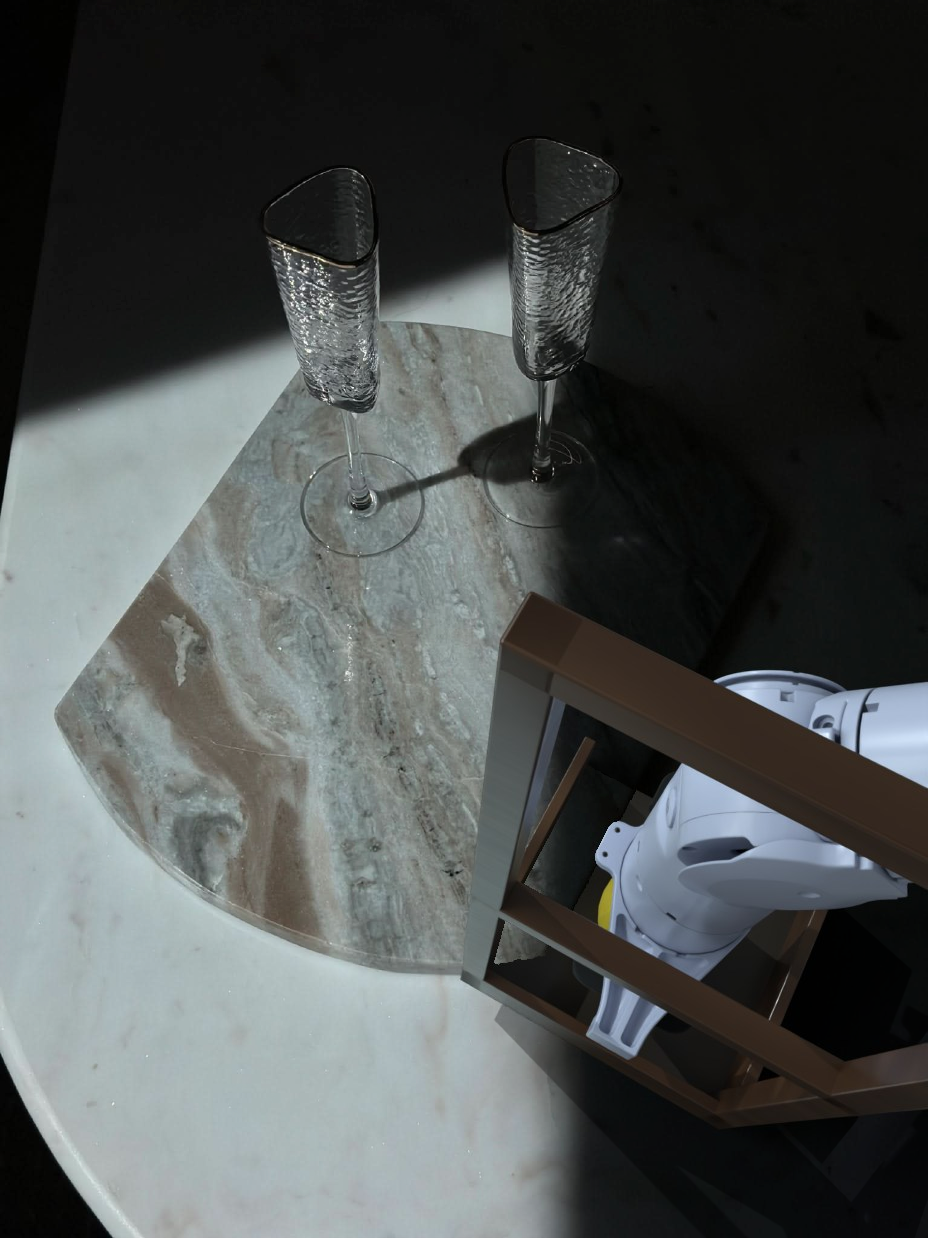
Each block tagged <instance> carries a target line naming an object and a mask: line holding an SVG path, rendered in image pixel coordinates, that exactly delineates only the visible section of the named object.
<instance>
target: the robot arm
mask: <svg viewBox="0 0 928 1238" xmlns="http://www.w3.org/2000/svg"><path fill="white" fill-rule="evenodd" d="M713 681H714V682H716V683H718V684H720V685H722V686H724V687H726V688H728V689H730V690H732V691H734V692H736V693H738V694H740V695H742V696H744V697H746V698H748V699H750V700H752V701H754V702H756V703H758V704H760V705H762V706H764V707H766V708H768V709H770V710H772V711H774V712H776V713H778V714H780V715H782V716H784V717H786V718H788V719H790V720H792V721H794V722H796V723H798V724H800V725H802V726H804V727H806V728H808V729H810V730H812V731H814V732H816V733H818V734H820V735H822V736H824V737H826V738H828V739H830V740H832V741H834V742H836V743H838V744H840V745H842V746H844V747H846V748H848V749H850V750H852V751H854V752H856V753H858V754H860V755H862V756H864V757H866V758H868V759H870V760H872V761H874V762H876V763H878V764H880V765H882V766H884V767H886V768H888V769H890V770H892V771H894V772H896V773H898V774H900V775H902V776H904V777H906V778H908V779H910V780H912V781H914V782H916V783H918V784H920V785H922V786H924V787H926V788H928V681H924V682H914V683H906V684H898V685H889V686H888V685H887V686H880V687H870V688H864V689H853V690H847V689H846V688H844V687H843V686H841V685H839V684H838V683H837V682H835V681H832V680H829V679H827V678H824V677H821V676H817V675H814V674H809V673H804V672H794V671H792V670H776V669H775V670H774V669H765V670H764V669H763V670H760V669H759V670H749V671H741V672H736V673H732V674H728V675H725V676H721V677H719V678H717V679H715V680H713ZM652 798H653V800H652V802H651V804H650V806H649V812H650V815H649V816H648V818H647V819H646V821H645V823H644V824H643V825H641V826H640V827H633V826H630V825H628V824H626V823H624V822H620V821H617V822H613V823H612V824H611V825H610V826H609V827H608V829H607V831H606V833H605V835H604V837H603V839H602V841H601V843H600V845H599V847H598V849H597V850H596V853H595V861H596V864H597V865H598V866H599V867H601V868H602V869H604V870H606V871H607V872H609V873H610V874H611V876H612V878H613V893H612V903H611V912H610V922H609V931H610V932H612V933H613V934H615V935H617V936H619V937H621V938H622V939H624V940H626V941H628V942H630V943H632V944H633V945H635V946H637V947H639V948H641V949H642V950H644V951H646V952H648V953H650V954H651V955H653V956H655V957H657V958H659V959H660V960H662V961H664V962H666V963H668V964H669V965H671V966H673V967H675V968H677V969H678V970H680V971H682V972H684V973H686V974H687V975H689V976H691V977H693V978H695V979H697V980H698V981H700V980H701V979H702V978H703V977H704V976H705V975H706V974H707V973H709V972H710V971H711V970H712V969H713V968H714V967H715V966H716V965H717V964H718V963H719V962H720V961H721V960H722V959H723V958H724V957H725V956H726V955H727V954H728V953H729V952H730V951H731V950H732V949H733V948H734V947H735V946H736V945H737V944H738V943H739V942H740V941H741V940H742V939H743V938H744V937H745V936H746V934H747V933H748V932H749V931H750V929H751V927H753V926H754V925H756V924H757V923H758V922H759V921H761V920H762V919H763V918H765V917H766V916H768V915H769V914H770V913H772V912H773V911H774V910H824V909H828V910H837V909H844V908H850V907H855V906H860V905H862V904H866V903H868V902H872V901H873V902H874V901H880V900H881V901H882V900H884V901H885V900H898V898H906V897H908V884H914V883H913V882H911V881H909V880H907V879H906V878H904V877H902V876H900V875H898V874H896V873H894V872H892V871H890V870H888V869H886V868H884V867H882V866H880V865H878V864H876V863H875V862H873V861H871V860H869V859H867V858H865V857H863V856H861V855H859V854H857V853H855V852H853V851H851V850H849V849H847V848H845V847H844V846H842V845H840V844H838V843H836V842H834V841H832V840H830V839H828V838H826V837H824V836H822V835H820V834H818V833H816V832H814V831H813V830H811V829H809V828H807V827H805V826H803V825H801V824H799V823H797V822H795V821H793V820H791V819H789V818H787V817H785V816H783V815H782V814H780V813H778V812H776V811H774V810H772V809H770V808H768V807H766V806H764V805H762V804H760V803H758V802H756V801H754V800H752V799H751V798H749V797H747V796H745V795H743V794H741V793H739V792H737V791H735V790H733V789H731V788H729V787H727V786H725V785H723V784H721V783H720V782H718V781H716V780H714V779H712V778H710V777H708V776H706V775H704V774H702V773H700V772H698V771H696V770H694V769H692V768H690V767H689V766H687V765H685V764H683V763H680V765H679V767H678V769H676V770H675V771H672V772H670V773H669V772H668V774H667V775H666V776H664V777H663V779H662V780H661V782H660V784H659V785H658V788H657V789H656V791H655V793H654V795H653V797H652ZM615 831H617V832H618V833H616V832H615ZM603 855H605V856H606V857H604V856H603ZM573 974H574V976H575V977H576V978H577V980H578V981H579V982H580V983H581V984H583V985H584V986H586V987H588V988H589V989H591V990H593V991H595V992H596V993H598V994H600V995H601V1001H600V1005H599V1009H598V1012H597V1015H596V1016H595V1017H594V1019H593V1021H592V1023H591V1025H590V1027H589V1029H588V1031H587V1033H586V1036H587V1037H589V1038H590V1039H592V1040H594V1041H596V1042H597V1043H599V1044H601V1045H602V1046H604V1047H606V1048H607V1049H609V1050H611V1051H613V1052H614V1053H616V1054H618V1055H620V1056H622V1057H623V1058H625V1059H627V1060H630V1059H632V1058H634V1057H636V1056H637V1054H638V1052H639V1050H640V1048H641V1047H642V1045H643V1043H644V1041H645V1039H646V1038H647V1036H648V1034H649V1033H650V1032H651V1030H652V1029H653V1028H654V1026H656V1027H658V1028H660V1029H662V1030H663V1031H665V1032H668V1033H671V1034H680V1033H683V1032H685V1031H686V1030H688V1029H689V1028H690V1027H691V1025H689V1024H688V1023H686V1022H684V1021H682V1020H681V1019H679V1018H677V1017H675V1016H673V1015H672V1014H670V1013H668V1012H666V1011H665V1010H663V1009H661V1008H659V1007H657V1006H656V1005H654V1004H652V1003H650V1002H649V1001H647V1000H645V999H643V998H641V997H640V996H638V995H636V994H634V993H633V992H631V991H629V990H627V989H625V988H624V987H622V986H620V985H618V984H617V983H615V982H613V981H611V980H609V979H608V978H606V977H604V976H602V975H601V974H599V973H597V972H595V971H593V970H592V969H590V968H588V967H586V966H585V965H583V964H581V963H579V962H577V961H576V960H573Z"/></svg>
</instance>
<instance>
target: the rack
mask: <svg viewBox="0 0 928 1238" xmlns="http://www.w3.org/2000/svg"><path fill="white" fill-rule="evenodd" d="M494 678H495V679H494V687H493V696H492V703H491V704H492V705H491V714H490V722H489V729H488V730H489V731H488V739H487V748H486V749H487V750H486V757H485V765H484V774H483V780H482V781H483V782H482V792H481V799H480V808H479V816H478V817H479V818H478V825H477V834H476V843H475V852H474V861H473V869H472V877H471V879H472V880H471V886H470V893H469V903H468V910H467V912H468V913H467V921H466V928H465V929H466V930H465V938H464V939H465V940H464V946H463V955H462V964H461V969H460V977H459V980H460V981H461V982H463V983H464V984H466V985H469V986H470V987H472V988H474V989H475V990H477V991H478V992H480V993H481V994H484V995H485V996H487V997H489V998H491V999H492V1000H495V1002H497V1003H498V1004H501V1005H503V1006H505V1007H506V1008H507V1009H510V1010H512V1011H513V1012H515V1013H517V1014H518V1015H520V1016H522V1017H523V1018H524V1019H527V1020H529V1021H530V1022H532V1023H534V1024H536V1025H538V1026H539V1027H541V1028H542V1029H544V1030H546V1031H547V1032H550V1033H551V1034H553V1035H555V1036H556V1037H558V1038H560V1039H561V1040H563V1041H565V1042H566V1043H568V1044H570V1045H572V1046H574V1047H575V1048H577V1049H578V1050H581V1051H582V1052H584V1053H586V1054H587V1055H589V1056H591V1057H593V1059H596V1060H598V1061H600V1062H601V1063H603V1064H604V1065H606V1066H608V1067H610V1068H612V1069H613V1070H615V1071H617V1072H618V1073H620V1074H622V1075H624V1076H625V1077H627V1078H629V1079H630V1080H632V1081H634V1082H636V1083H638V1084H639V1085H641V1086H643V1087H644V1088H646V1089H648V1090H650V1091H651V1092H653V1093H655V1094H656V1095H658V1096H659V1097H662V1098H663V1099H666V1100H667V1101H669V1102H670V1103H672V1104H674V1105H676V1106H677V1107H679V1108H681V1109H683V1110H685V1112H687V1113H689V1114H691V1115H692V1116H694V1117H697V1118H698V1119H700V1120H701V1121H704V1122H705V1123H707V1124H708V1125H710V1126H712V1127H713V1128H715V1129H717V1130H724V1129H734V1128H741V1127H753V1126H763V1125H772V1124H773V1125H774V1124H784V1123H793V1122H804V1121H805V1122H806V1121H814V1120H824V1119H835V1118H836V1119H837V1118H846V1117H860V1116H861V1117H862V1116H865V1115H866V1116H867V1115H868V1116H869V1115H877V1114H886V1113H887V1114H889V1113H900V1112H908V1111H920V1110H928V1042H923V1043H919V1044H915V1045H909V1046H906V1047H901V1048H898V1049H894V1050H888V1051H885V1052H880V1053H876V1054H871V1055H866V1056H863V1057H859V1058H854V1059H850V1060H846V1061H844V1060H843V1059H841V1058H839V1057H837V1056H836V1055H834V1054H832V1053H830V1052H828V1051H827V1050H826V1049H825V1050H824V1049H823V1048H821V1047H819V1046H818V1045H816V1044H814V1043H812V1042H810V1041H808V1040H806V1038H805V1039H804V1037H802V1036H799V1034H795V1033H794V1032H792V1031H791V1030H788V1029H787V1028H785V1027H783V1026H781V1025H782V1023H783V1022H784V1021H783V1020H784V1019H785V1015H786V1014H787V1010H788V1009H789V1006H790V1004H791V1001H792V999H793V996H794V994H795V991H796V989H797V987H798V984H799V982H800V980H801V977H802V974H803V972H804V970H805V968H806V965H807V962H808V960H809V958H810V955H811V953H812V950H813V948H814V945H815V943H816V941H817V938H818V936H819V933H820V931H821V928H822V926H823V923H824V922H825V919H826V916H827V913H828V911H829V909H824V910H774V911H773V912H772V913H770V914H769V915H768V916H766V917H765V918H763V919H762V920H761V921H759V922H758V923H757V924H756V925H754V926H753V927H751V929H750V931H749V932H748V933H747V934H746V936H745V937H744V938H743V939H742V940H741V941H740V942H739V943H738V944H737V945H736V946H735V947H734V948H733V949H732V950H731V951H730V952H729V953H728V954H727V955H726V956H725V957H724V958H723V959H722V960H721V961H720V962H719V963H718V964H717V965H716V966H715V967H714V968H713V969H712V970H711V971H710V972H709V973H707V974H706V975H705V976H704V977H703V978H702V979H701V980H700V981H698V980H697V979H695V978H693V977H691V976H689V975H687V974H686V973H684V972H682V971H680V970H678V969H677V968H675V967H673V966H671V965H669V964H668V963H666V962H664V961H662V960H660V959H659V958H657V957H655V956H653V955H651V954H650V953H648V952H646V951H644V950H642V949H641V948H639V947H637V946H635V945H633V944H632V943H630V942H628V941H626V940H624V939H622V938H621V937H619V936H617V935H615V934H613V933H612V932H610V931H608V930H606V929H604V928H603V927H601V926H599V925H598V910H599V904H600V901H601V897H602V894H603V892H604V890H605V888H606V887H607V885H608V883H609V882H610V880H611V879H612V876H611V874H610V873H609V872H607V871H606V870H604V869H602V868H601V867H599V866H598V865H597V866H596V867H595V869H594V872H593V873H592V876H591V877H590V879H589V883H588V884H587V885H586V888H585V889H584V891H583V893H582V894H581V896H580V898H579V899H578V902H577V904H576V905H575V907H574V910H573V911H572V910H570V909H568V908H567V907H565V906H563V905H561V904H559V903H557V902H556V901H554V900H552V899H550V898H548V897H547V896H545V895H543V894H541V893H539V892H538V891H536V890H534V889H532V888H530V887H529V886H527V885H525V884H524V883H525V881H526V879H527V877H528V875H529V873H530V871H531V870H532V868H533V866H534V864H535V862H536V860H537V858H538V856H539V854H540V852H541V851H542V849H543V847H544V845H545V843H546V841H547V839H548V838H549V836H550V834H551V832H552V830H553V828H554V826H555V824H556V822H557V820H558V819H559V817H560V815H561V813H562V811H563V809H564V807H565V805H566V803H567V802H568V800H569V798H570V796H571V794H572V792H573V790H574V788H575V787H576V785H577V783H578V781H579V779H580V777H581V775H582V773H583V771H584V769H585V768H586V766H587V764H588V765H589V761H590V759H591V756H592V754H593V751H594V749H595V745H596V743H597V741H596V740H594V739H592V738H590V737H588V736H585V737H584V738H583V740H582V742H581V744H580V745H579V747H578V749H577V751H576V753H575V755H574V757H573V758H572V761H571V763H570V764H569V766H568V768H567V770H566V772H565V774H564V776H563V778H562V779H561V781H560V783H559V785H558V787H557V789H556V791H555V793H554V795H553V796H552V798H551V800H550V801H549V803H548V806H547V807H546V809H545V811H544V813H543V815H542V816H541V818H540V820H539V822H538V824H537V825H536V827H535V830H534V831H533V833H532V835H531V836H530V834H531V831H532V827H533V824H534V820H535V816H536V812H537V809H538V805H539V802H540V798H541V794H542V790H543V787H544V785H545V780H546V777H547V773H548V770H549V766H550V762H551V759H552V755H553V751H554V747H555V744H556V740H557V736H558V733H559V730H560V725H561V723H562V718H563V716H564V713H565V712H564V711H565V708H566V705H569V706H570V707H572V708H574V709H576V710H578V711H580V712H581V713H584V714H586V715H587V716H590V717H592V718H593V719H595V720H598V721H600V722H602V723H603V724H605V725H607V726H609V727H611V728H613V729H615V730H617V731H619V732H620V733H623V734H625V735H627V736H629V737H630V738H632V739H634V740H636V741H638V742H640V743H642V744H644V745H646V746H648V747H650V748H652V749H654V750H656V751H657V752H660V753H661V754H663V755H665V756H667V757H669V758H671V759H673V760H675V761H676V762H679V763H680V764H682V763H683V764H685V765H687V766H689V767H690V768H692V769H694V770H696V771H698V772H700V773H702V774H704V775H706V776H708V777H710V778H712V779H714V780H716V781H718V782H720V783H721V784H723V785H725V786H727V787H729V788H731V789H733V790H735V791H737V792H739V793H741V794H743V795H745V796H747V797H749V798H751V799H752V800H754V801H756V802H758V803H760V804H762V805H764V806H766V807H768V808H770V809H772V810H774V811H776V812H778V813H780V814H782V815H783V816H785V817H787V818H789V819H791V820H793V821H795V822H797V823H799V824H801V825H803V826H805V827H807V828H809V829H811V830H813V831H814V832H816V833H818V834H820V835H822V836H824V837H826V838H828V839H830V840H832V841H834V842H836V843H838V844H840V845H842V846H844V847H845V848H847V849H849V850H851V851H853V852H855V853H857V854H859V855H861V856H863V857H865V858H867V859H869V860H871V861H873V862H875V863H876V864H878V865H880V866H882V867H884V868H886V869H888V870H890V871H892V872H894V873H896V874H898V875H900V876H902V877H904V878H906V879H907V880H909V881H911V882H913V883H912V884H915V885H918V886H919V887H920V888H923V889H925V890H927V891H928V788H926V787H924V786H922V785H920V784H918V783H916V782H914V781H912V780H910V779H908V778H906V777H904V776H902V775H900V774H898V773H896V772H894V771H892V770H890V769H888V768H886V767H884V766H882V765H880V764H878V763H876V762H874V761H872V760H870V759H868V758H866V757H864V756H862V755H860V754H858V753H856V752H854V751H852V750H850V749H848V748H846V747H844V746H842V745H840V744H838V743H836V742H834V741H832V740H830V739H828V738H826V737H824V736H822V735H820V734H818V733H816V732H814V731H812V730H810V729H808V728H806V727H804V726H802V725H800V724H798V723H796V722H794V721H792V720H790V719H788V718H786V717H784V716H782V715H780V714H778V713H776V712H774V711H772V710H770V709H768V708H766V707H764V706H762V705H760V704H758V703H756V702H754V701H752V700H750V699H748V698H746V697H744V696H742V695H740V694H738V693H736V692H734V691H732V690H730V689H728V688H726V687H724V686H722V685H720V684H718V683H716V682H714V681H715V680H712V679H710V678H708V677H706V676H704V675H701V674H700V673H697V672H695V671H694V670H691V669H690V668H688V667H685V666H684V665H682V664H679V663H678V662H675V661H674V660H671V659H670V658H667V656H663V655H661V654H659V653H657V652H655V651H654V650H651V649H649V648H648V647H645V646H643V645H642V644H639V643H637V642H636V641H633V640H631V639H629V638H627V637H626V636H623V635H621V634H619V633H617V632H616V631H613V630H611V629H609V628H607V627H606V626H604V625H601V624H599V623H597V622H595V621H593V620H591V619H589V618H588V617H585V616H584V615H581V614H579V613H577V612H575V611H574V610H571V609H569V608H567V607H565V606H563V605H562V604H560V603H558V602H556V601H554V600H552V599H549V598H547V597H546V596H544V595H541V594H539V593H537V592H536V591H531V590H530V591H529V592H527V593H526V595H525V597H523V600H522V602H520V605H519V607H518V608H517V610H516V612H515V613H514V615H513V616H512V619H511V620H510V622H509V623H508V625H507V626H506V628H505V630H504V632H503V634H502V635H501V637H500V638H499V645H498V652H497V661H496V670H495V677H494ZM653 798H654V797H651V796H649V795H647V794H646V793H643V792H642V791H640V790H637V789H636V792H635V794H634V795H633V798H632V800H630V802H629V804H628V806H627V809H626V811H625V813H624V814H623V817H622V818H621V820H619V821H620V822H624V823H626V824H628V825H630V826H633V827H640V826H641V825H643V824H644V823H645V821H646V819H647V818H648V816H649V815H650V812H649V806H650V804H651V802H652V800H653ZM615 832H616V833H618V832H617V831H615ZM529 838H530V839H529ZM603 856H604V857H606V856H605V855H603ZM505 921H506V922H508V923H510V924H512V925H513V926H515V927H517V928H519V929H521V930H522V931H524V932H526V933H528V934H529V935H531V936H533V937H535V938H537V939H538V940H540V941H542V942H544V943H545V944H547V945H549V946H551V948H549V949H548V951H547V952H546V954H545V956H542V957H541V956H538V957H535V958H533V959H527V960H521V959H517V960H514V961H513V962H508V963H500V964H499V965H498V964H495V963H494V960H495V957H496V953H497V949H498V946H499V942H500V939H501V935H502V931H503V928H504V924H505ZM573 960H576V961H577V962H579V963H581V964H583V965H585V966H586V967H588V968H590V969H592V970H593V971H595V972H597V973H599V974H601V975H602V976H604V977H606V978H608V979H609V980H611V981H613V982H615V983H617V984H618V985H620V986H622V987H624V988H625V989H627V990H629V991H631V992H633V993H634V994H636V995H638V996H640V997H641V998H643V999H645V1000H647V1001H649V1002H650V1003H652V1004H654V1005H656V1006H657V1007H659V1008H661V1009H663V1010H665V1011H666V1012H668V1013H670V1014H672V1015H673V1016H675V1017H677V1018H679V1019H681V1020H682V1021H684V1022H686V1023H688V1024H689V1025H691V1027H690V1028H689V1029H688V1030H686V1031H685V1032H683V1033H680V1034H671V1033H668V1032H665V1031H663V1030H662V1029H660V1028H658V1027H656V1026H654V1028H653V1029H652V1030H651V1032H650V1033H649V1034H648V1036H647V1038H646V1039H645V1041H644V1043H643V1045H642V1047H641V1048H640V1050H639V1052H638V1054H637V1056H636V1057H634V1058H632V1059H630V1060H627V1059H625V1058H623V1057H622V1056H620V1055H618V1054H616V1053H614V1052H613V1051H611V1050H609V1049H607V1048H606V1047H604V1046H602V1045H601V1044H599V1043H597V1042H596V1041H594V1040H592V1039H590V1038H589V1037H587V1036H586V1033H587V1031H588V1029H589V1027H590V1025H591V1023H592V1021H593V1019H594V1017H595V1016H596V1015H597V1012H598V1009H599V1005H600V1001H601V995H600V994H598V993H596V992H595V991H593V990H591V989H589V988H588V987H586V986H584V985H583V984H581V983H580V982H579V981H578V980H577V978H576V977H575V976H574V974H573ZM764 1068H766V1069H768V1070H769V1071H770V1072H773V1073H774V1074H776V1075H778V1076H777V1077H772V1078H768V1079H764V1080H759V1079H760V1076H761V1074H762V1071H763V1069H764Z"/></svg>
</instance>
